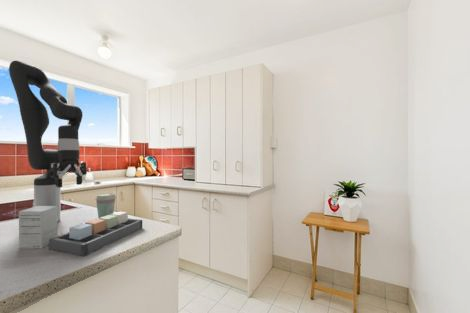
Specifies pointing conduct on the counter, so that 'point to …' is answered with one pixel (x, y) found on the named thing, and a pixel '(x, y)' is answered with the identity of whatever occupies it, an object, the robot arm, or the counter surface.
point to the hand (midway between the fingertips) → (69, 185)
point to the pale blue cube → (80, 231)
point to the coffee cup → (105, 204)
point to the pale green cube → (109, 221)
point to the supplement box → (37, 226)
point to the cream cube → (121, 217)
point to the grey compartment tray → (94, 239)
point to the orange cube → (97, 225)
